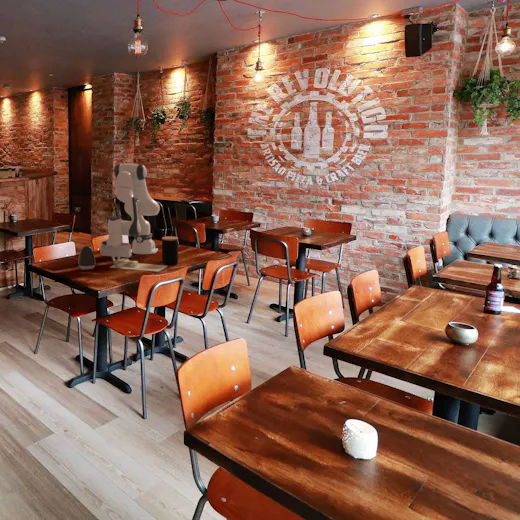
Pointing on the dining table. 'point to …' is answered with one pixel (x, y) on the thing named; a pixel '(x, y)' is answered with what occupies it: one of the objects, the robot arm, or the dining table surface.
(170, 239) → the coffee jar
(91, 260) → the dark egg shaped speaker
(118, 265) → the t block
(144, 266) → the board
